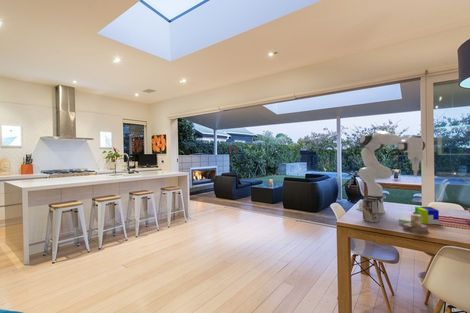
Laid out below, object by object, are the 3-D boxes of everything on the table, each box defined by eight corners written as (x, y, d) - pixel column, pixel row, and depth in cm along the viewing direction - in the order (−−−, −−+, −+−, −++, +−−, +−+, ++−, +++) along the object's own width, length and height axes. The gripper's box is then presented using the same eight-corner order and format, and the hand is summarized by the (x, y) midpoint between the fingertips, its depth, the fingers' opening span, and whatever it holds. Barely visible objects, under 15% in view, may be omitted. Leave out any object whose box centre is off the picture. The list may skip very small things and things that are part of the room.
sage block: (398, 224, 172) (398, 219, 171) (404, 221, 177) (404, 216, 177) (415, 228, 163) (415, 222, 163) (420, 224, 169) (420, 219, 169)
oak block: (410, 225, 157) (410, 215, 157) (411, 223, 161) (411, 213, 161) (420, 227, 154) (420, 216, 154) (420, 224, 158) (420, 214, 158)
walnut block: (402, 230, 160) (402, 224, 160) (411, 227, 165) (411, 221, 164) (419, 234, 151) (419, 228, 151) (427, 231, 156) (427, 225, 155)
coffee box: (379, 222, 177) (378, 201, 177) (372, 223, 175) (372, 201, 175) (368, 218, 186) (368, 198, 186) (362, 219, 184) (362, 199, 184)
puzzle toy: (438, 224, 168) (438, 210, 168) (422, 223, 170) (422, 210, 170) (430, 219, 178) (430, 206, 178) (415, 219, 180) (415, 206, 180)
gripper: (421, 158, 164) (421, 177, 165) (420, 156, 180) (420, 174, 181) (409, 158, 168) (409, 177, 168) (410, 156, 184) (410, 173, 184)
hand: (415, 175), depth 175 cm, fingers open, 8 cm apart
